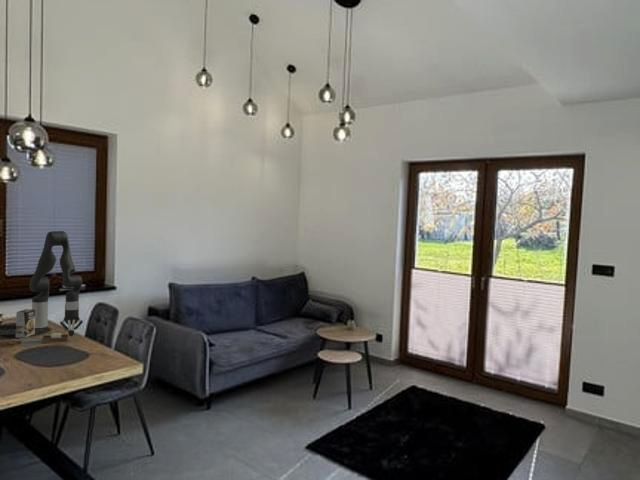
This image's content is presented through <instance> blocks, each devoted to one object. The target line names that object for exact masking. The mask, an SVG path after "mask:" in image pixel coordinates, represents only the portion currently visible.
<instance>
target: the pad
mask: <svg viewBox="0 0 640 480" xmlns="http://www.w3.org/2000/svg"><path fill="white" fill-rule="evenodd" d="M29 345H30V346H33V345H36V346H37V345H43V344H42V338H34V339H32V338H31V339H22V340H21V342H20V343H19V346H29Z"/></svg>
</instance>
